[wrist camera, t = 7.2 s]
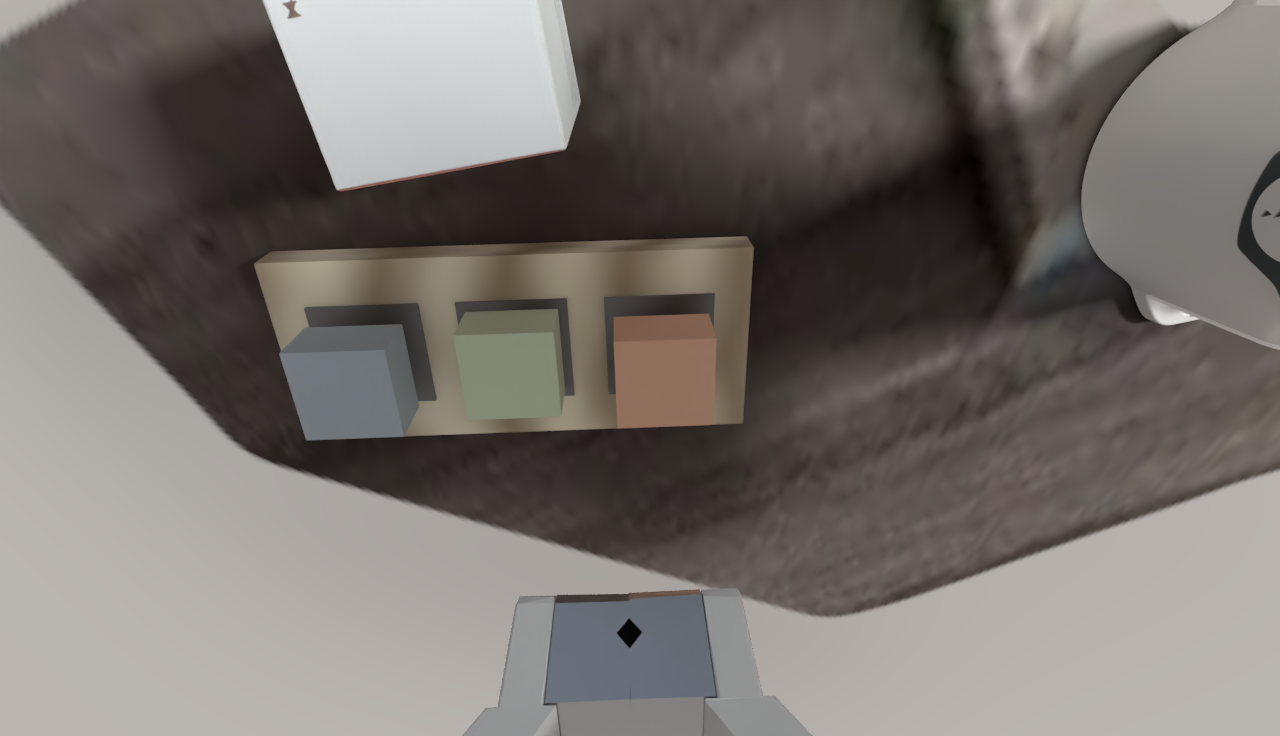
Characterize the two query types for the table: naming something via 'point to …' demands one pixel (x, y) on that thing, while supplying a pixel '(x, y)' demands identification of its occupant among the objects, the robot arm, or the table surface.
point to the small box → (428, 82)
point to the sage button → (511, 364)
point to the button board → (522, 280)
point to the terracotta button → (664, 370)
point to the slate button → (351, 381)
